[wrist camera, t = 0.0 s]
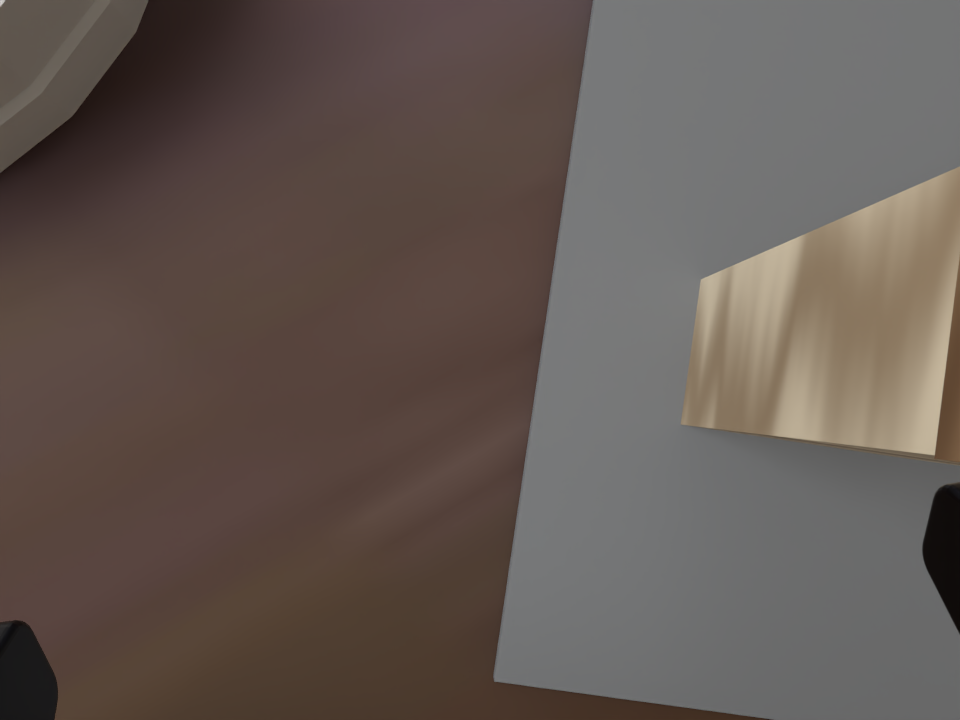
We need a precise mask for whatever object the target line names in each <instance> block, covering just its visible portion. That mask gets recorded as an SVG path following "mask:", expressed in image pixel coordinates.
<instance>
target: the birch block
mask: <svg viewBox="0 0 960 720" xmlns="http://www.w3.org/2000/svg"><path fill="white" fill-rule="evenodd" d="M681 425H687V426H694V427H701V428H707V429H714V430H720V431H727V432H734V433H740V434H747V435H753V436H760V437H767V438H773V439H780V440H786V441H793V442H800V443H806V444H813V445H820V446H826V447H833V448H839V449H846V450H853V451H859V452H866V453H872V454H879V455H886V456H892V457H899V458H907V459H914V460H922V461H929V462H936V463H944V464H951V465H959V466H960V167H957V168H955V169H953V170H951V171H948V172H946V173H944V174H941V175H939V176H937V177H935V178H932V179H930V180H928V181H925V182H923V183H921V184H918V185H916V186H914V187H912V188H909V189H907V190H905V191H902V192H900V193H898V194H896V195H893V196H891V197H889V198H886V199H884V200H882V201H880V202H877V203H875V204H873V205H870V206H868V207H866V208H863V209H861V210H859V211H857V212H854V213H852V214H850V215H847V216H845V217H843V218H841V219H838V220H836V221H834V222H831V223H829V224H827V225H825V226H822V227H820V228H818V229H815V230H813V231H811V232H808V233H806V234H804V235H802V236H799V237H797V238H795V239H792V240H790V241H788V242H786V243H783V244H781V245H779V246H776V247H774V248H772V249H769V250H767V251H765V252H763V253H760V254H758V255H756V256H753V257H751V258H749V259H747V260H744V261H742V262H740V263H737V264H735V265H733V266H731V267H728V268H726V269H724V270H721V271H719V272H717V273H714V274H712V275H710V276H708V277H705V278H703V279H701V282H700V289H699V296H698V304H697V311H696V318H695V325H694V332H693V339H692V347H691V354H690V361H689V368H688V375H687V383H686V390H685V397H684V404H683V411H682V418H681Z"/></svg>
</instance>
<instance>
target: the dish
mask: <svg viewBox="0 0 960 720" xmlns="http://www.w3.org/2000/svg"><path fill="white" fill-rule="evenodd" d="M147 3H148V0H0V173H1V172H2V171H3V170H5V169H6V168H7V167H8V166H10V165H11V164H12V163H13V162H15V161H16V160H17V159H19V158H20V157H21V156H22V155H24V154H25V153H26V152H27V151H29V150H30V149H31V148H33V147H34V146H35V145H36V144H38V143H39V142H40V141H41V140H43V139H44V138H45V137H47V136H48V135H49V134H50V133H52V132H53V131H54V130H56V129H57V128H58V127H59V126H61V125H62V124H63V123H64V122H66V121H67V120H68V119H70V118H71V117H72V116H73V115H74V113H75V112H76V111H77V110H78V108H79V107H80V106H81V104H82V103H83V102H84V100H85V99H86V98H87V96H88V95H89V94H90V92H91V91H92V90H93V88H94V87H95V86H96V84H97V83H98V82H99V80H100V79H101V78H102V76H103V75H104V74H105V73H106V71H107V70H108V69H109V67H110V66H111V65H112V63H113V62H114V61H115V59H116V58H117V57H118V55H119V54H120V53H121V51H122V50H123V49H124V47H125V46H126V45H127V43H128V42H129V41H130V39H131V38H132V37H133V36H134V34H135V33H136V31H137V29H138V26H139V23H140V21H141V18H142V16H143V13H144V11H145V8H146V6H147Z"/></svg>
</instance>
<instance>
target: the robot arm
mask: <svg viewBox="0 0 960 720" xmlns="http://www.w3.org/2000/svg"><path fill="white" fill-rule="evenodd" d="M922 555H923V560H924V563H925V567H926V569H927V571H928V573H929V575H930V577H931V579H932V581H933V583H934V585H935V587H936V589H937V591H938V593H939V595H940V597H941V599H942V601H943V603H944V605H945V607H946V609H947V611H948V613H949V615H950V617H951V619H952V621H953V623H954V625H955V627H956V629H957V631H958V632H959V634H960V482H957V483H950V484H945V485H943V486H941V487H939V489H938V490H937V491H936V492H935V494H934V497H933V501H932V505H931V510H930V514H929V518H928V522H927V526H926V531H925V535H924V539H923V544H922ZM57 700H58V687H57V681H56V677H55V675H54V672H53V670H52V668H51V666H50V664H49V662H48V660H47V658H46V656H45V654H44V652H43V650H42V648H41V647H40V645H39V643H38V641H37V639H36V637H35V635H34V633H33V631H32V629H31V628H30V626H29V625H28V624H26V623H25V622H23V621H18V620H14V621H7V622H0V720H54V719H55V713H56V707H57Z"/></svg>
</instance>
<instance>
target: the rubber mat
mask: <svg viewBox="0 0 960 720" xmlns="http://www.w3.org/2000/svg"><path fill="white" fill-rule="evenodd" d="M957 167H960V0H593V4H592V11H591V18H590V25H589V31H588V38H587V45H586V52H585V59H584V65H583V72H582V79H581V86H580V92H579V99H578V106H577V113H576V120H575V126H574V133H573V140H572V147H571V153H570V160H569V167H568V174H567V180H566V187H565V194H564V201H563V208H562V214H561V221H560V228H559V235H558V241H557V248H556V255H555V262H554V269H553V275H552V282H551V289H550V296H549V302H548V309H547V316H546V323H545V329H544V336H543V343H542V350H541V357H540V363H539V370H538V377H537V384H536V390H535V397H534V404H533V411H532V418H531V424H530V431H529V438H528V445H527V451H526V458H525V465H524V472H523V478H522V485H521V492H520V499H519V506H518V512H517V519H516V526H515V533H514V539H513V546H512V553H511V560H510V567H509V573H508V580H507V587H506V594H505V600H504V607H503V614H502V621H501V627H500V634H499V641H498V648H497V655H496V661H495V668H494V675H493V678H494V681H495V682H503V683H510V684H517V685H525V686H532V687H539V688H547V689H554V690H561V691H569V692H576V693H583V694H590V695H598V696H605V697H612V698H620V699H627V700H634V701H642V702H649V703H656V704H664V705H671V706H678V707H686V708H693V709H700V710H708V711H715V712H722V713H730V714H737V715H744V716H752V717H759V718H766V719H774V720H960V634H959V632H958V631H957V629H956V627H955V625H954V623H953V621H952V619H951V617H950V615H949V613H948V611H947V609H946V607H945V605H944V603H943V601H942V599H941V597H940V595H939V593H938V591H937V589H936V587H935V585H934V583H933V581H932V579H931V577H930V575H929V573H928V571H927V569H926V567H925V563H924V560H923V555H922V544H923V539H924V535H925V531H926V526H927V522H928V518H929V514H930V510H931V505H932V501H933V497H934V494H935V492H936V491H937V490H938V489H939V487H941V486H943V485H945V484H950V483H957V482H960V466H959V465H951V464H944V463H936V462H929V461H922V460H914V459H907V458H899V457H892V456H886V455H879V454H872V453H866V452H859V451H853V450H846V449H839V448H833V447H826V446H820V445H813V444H806V443H800V442H793V441H786V440H780V439H773V438H767V437H760V436H753V435H747V434H740V433H734V432H727V431H720V430H714V429H707V428H701V427H694V426H687V425H681V418H682V411H683V404H684V397H685V390H686V383H687V375H688V368H689V361H690V354H691V347H692V339H693V332H694V325H695V318H696V311H697V304H698V296H699V289H700V282H701V279H703V278H705V277H708V276H710V275H712V274H714V273H717V272H719V271H721V270H724V269H726V268H728V267H731V266H733V265H735V264H737V263H740V262H742V261H744V260H747V259H749V258H751V257H753V256H756V255H758V254H760V253H763V252H765V251H767V250H769V249H772V248H774V247H776V246H779V245H781V244H783V243H786V242H788V241H790V240H792V239H795V238H797V237H799V236H802V235H804V234H806V233H808V232H811V231H813V230H815V229H818V228H820V227H822V226H825V225H827V224H829V223H831V222H834V221H836V220H838V219H841V218H843V217H845V216H847V215H850V214H852V213H854V212H857V211H859V210H861V209H863V208H866V207H868V206H870V205H873V204H875V203H877V202H880V201H882V200H884V199H886V198H889V197H891V196H893V195H896V194H898V193H900V192H902V191H905V190H907V189H909V188H912V187H914V186H916V185H918V184H921V183H923V182H925V181H928V180H930V179H932V178H935V177H937V176H939V175H941V174H944V173H946V172H948V171H951V170H953V169H955V168H957Z"/></svg>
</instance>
